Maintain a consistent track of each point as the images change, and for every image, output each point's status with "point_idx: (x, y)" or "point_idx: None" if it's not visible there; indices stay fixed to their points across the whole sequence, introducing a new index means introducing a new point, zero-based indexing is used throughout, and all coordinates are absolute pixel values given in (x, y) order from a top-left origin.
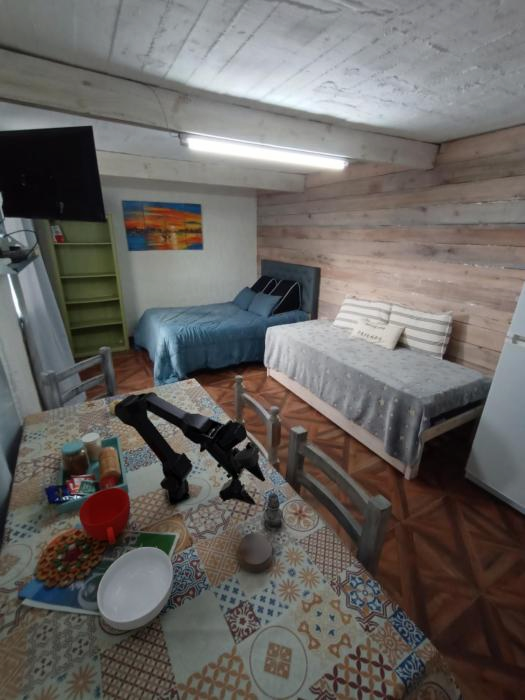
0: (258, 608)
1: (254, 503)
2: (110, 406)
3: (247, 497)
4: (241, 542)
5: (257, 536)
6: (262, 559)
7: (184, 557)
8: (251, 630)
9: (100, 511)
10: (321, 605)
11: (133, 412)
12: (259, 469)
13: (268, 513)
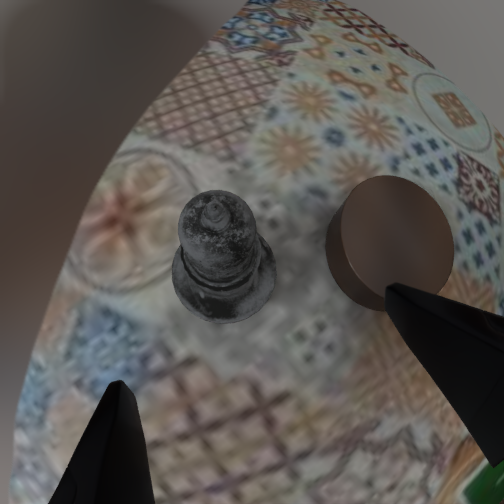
0: (448, 168)
1: (400, 284)
2: None
3: (484, 311)
4: None
5: (367, 258)
6: (411, 188)
7: None
8: (473, 162)
9: None
10: (340, 69)
11: None
12: (82, 478)
13: (251, 278)
